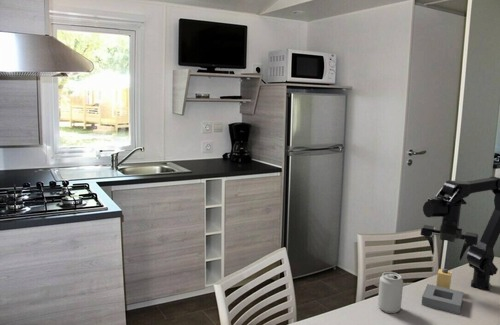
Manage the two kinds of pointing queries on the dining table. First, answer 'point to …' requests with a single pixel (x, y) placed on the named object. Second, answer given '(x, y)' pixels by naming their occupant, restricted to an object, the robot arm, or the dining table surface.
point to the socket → (442, 298)
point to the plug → (444, 278)
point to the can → (390, 292)
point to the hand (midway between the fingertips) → (446, 257)
